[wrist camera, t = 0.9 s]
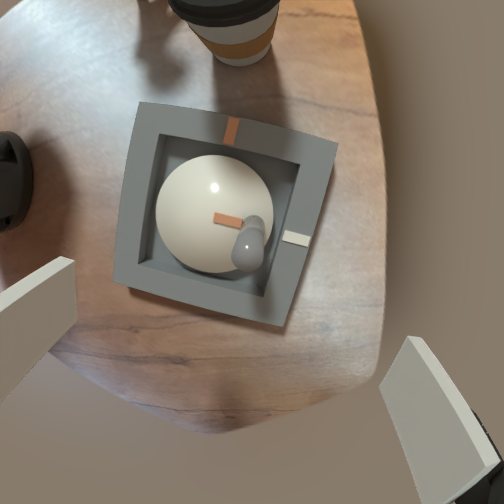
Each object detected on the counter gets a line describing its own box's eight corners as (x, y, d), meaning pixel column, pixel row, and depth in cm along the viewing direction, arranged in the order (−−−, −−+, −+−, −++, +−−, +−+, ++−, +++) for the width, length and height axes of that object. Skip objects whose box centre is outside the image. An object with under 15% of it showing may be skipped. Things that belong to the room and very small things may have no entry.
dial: (153, 252, 32) (107, 293, 22) (172, 145, 29) (124, 140, 18) (257, 278, 33) (251, 334, 22) (286, 170, 29) (296, 176, 18)
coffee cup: (289, 65, 26) (306, -4, 12) (213, 85, 27) (170, 31, 13) (266, 6, 24) (264, -77, 10) (195, 26, 25) (149, -45, 11)
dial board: (124, 271, 34) (112, 282, 31) (151, 106, 28) (138, 101, 25) (281, 312, 35) (282, 327, 32) (331, 145, 29) (339, 143, 26)
